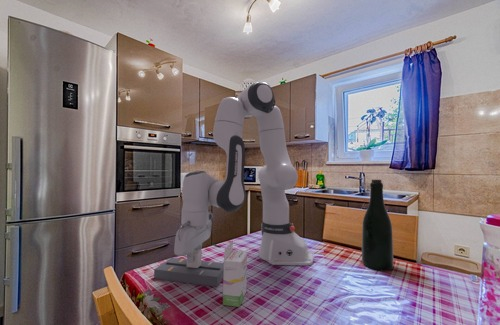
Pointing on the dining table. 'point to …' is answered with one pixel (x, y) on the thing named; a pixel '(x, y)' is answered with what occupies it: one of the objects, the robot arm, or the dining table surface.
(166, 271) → the slider console
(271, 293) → the dining table surface
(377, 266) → the beer bottle
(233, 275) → the ink box
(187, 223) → the robot arm
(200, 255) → the fader cap
